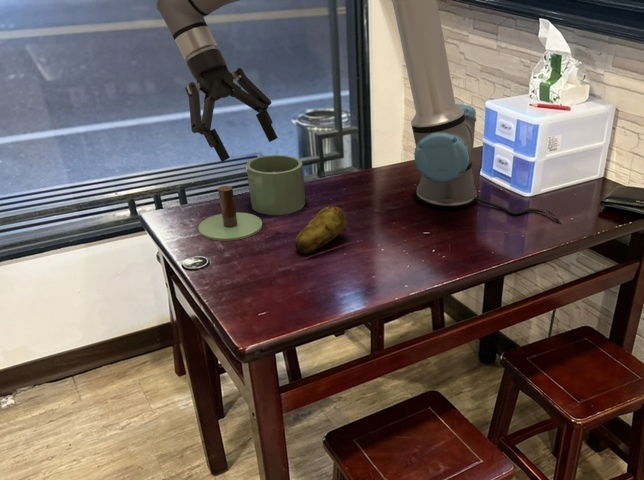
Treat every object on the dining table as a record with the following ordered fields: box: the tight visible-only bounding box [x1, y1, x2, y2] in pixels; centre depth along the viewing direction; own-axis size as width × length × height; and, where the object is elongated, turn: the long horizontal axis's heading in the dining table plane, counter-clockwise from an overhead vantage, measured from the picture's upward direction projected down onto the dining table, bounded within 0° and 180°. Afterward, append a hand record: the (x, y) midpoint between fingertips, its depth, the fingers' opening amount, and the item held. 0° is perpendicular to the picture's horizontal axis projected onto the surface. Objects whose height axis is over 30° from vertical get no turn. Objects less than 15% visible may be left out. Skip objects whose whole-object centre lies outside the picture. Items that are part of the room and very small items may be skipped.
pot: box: [245, 154, 306, 216], centre depth 145 cm, size 13×13×10 cm
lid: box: [197, 185, 263, 242], centre depth 134 cm, size 14×14×10 cm
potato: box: [294, 205, 349, 254], centre depth 129 cm, size 8×13×8 cm, turn 123°
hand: (250, 149), depth 136 cm, fingers open, 13 cm apart
